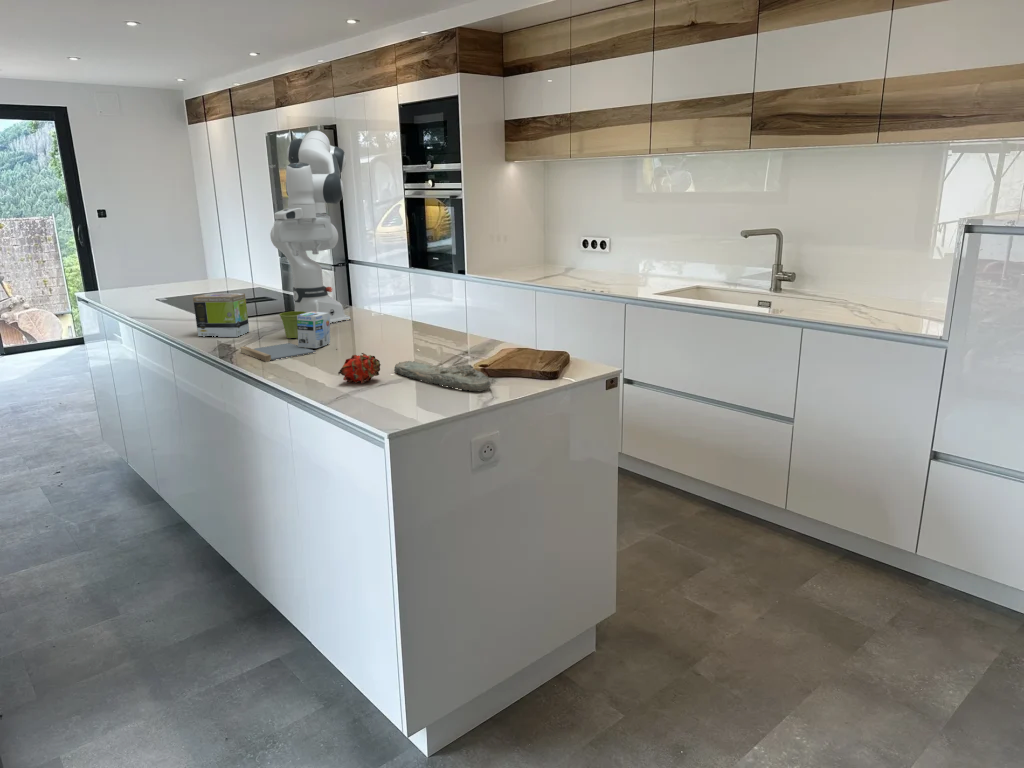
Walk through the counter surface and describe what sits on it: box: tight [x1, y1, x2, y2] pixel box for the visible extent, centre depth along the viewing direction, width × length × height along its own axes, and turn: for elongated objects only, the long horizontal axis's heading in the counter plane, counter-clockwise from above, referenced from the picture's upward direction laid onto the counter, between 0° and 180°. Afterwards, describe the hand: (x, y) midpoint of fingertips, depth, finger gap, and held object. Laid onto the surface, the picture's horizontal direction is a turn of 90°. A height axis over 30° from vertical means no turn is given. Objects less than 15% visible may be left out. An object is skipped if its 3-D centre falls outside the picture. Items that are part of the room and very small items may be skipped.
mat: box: [253, 342, 317, 361], centre depth 224 cm, size 15×18×1 cm
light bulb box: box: [297, 312, 331, 349], centre depth 231 cm, size 11×7×11 cm, turn 168°
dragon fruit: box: [337, 352, 382, 385], centre depth 188 cm, size 8×8×12 cm
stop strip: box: [240, 346, 271, 362], centre depth 218 cm, size 2×18×2 cm, turn 45°
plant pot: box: [278, 310, 307, 339], centre depth 246 cm, size 9×9×9 cm
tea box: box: [192, 292, 250, 338], centre depth 250 cm, size 15×10×15 cm
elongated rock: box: [394, 360, 491, 392], centre depth 189 cm, size 35×5×10 cm
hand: (305, 255), depth 237 cm, fingers open, 6 cm apart
